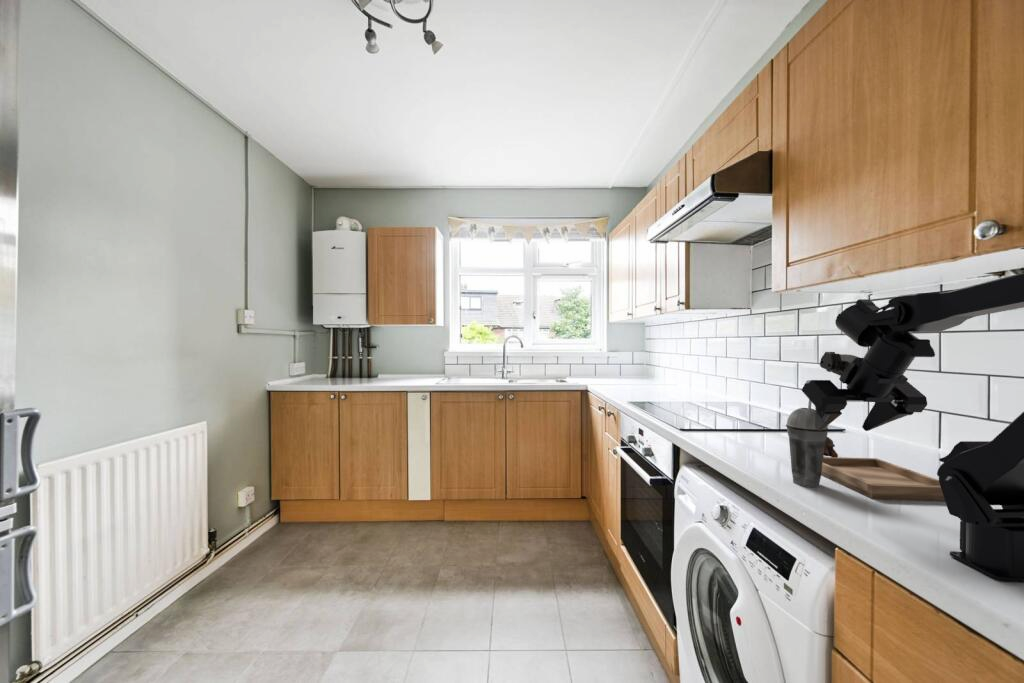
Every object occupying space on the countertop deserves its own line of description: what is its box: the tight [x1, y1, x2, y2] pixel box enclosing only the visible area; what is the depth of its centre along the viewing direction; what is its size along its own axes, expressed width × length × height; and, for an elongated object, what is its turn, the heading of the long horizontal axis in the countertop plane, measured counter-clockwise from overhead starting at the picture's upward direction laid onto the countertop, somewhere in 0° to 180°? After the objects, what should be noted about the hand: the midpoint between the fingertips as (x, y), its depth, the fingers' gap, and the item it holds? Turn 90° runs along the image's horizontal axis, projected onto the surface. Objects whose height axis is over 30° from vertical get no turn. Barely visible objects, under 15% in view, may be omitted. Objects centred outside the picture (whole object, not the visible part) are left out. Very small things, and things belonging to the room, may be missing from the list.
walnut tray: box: [821, 456, 945, 502], centre depth 90 cm, size 20×16×2 cm
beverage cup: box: [785, 399, 830, 488], centre depth 89 cm, size 7×7×20 cm
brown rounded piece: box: [823, 436, 839, 457], centre depth 109 cm, size 12×10×8 cm
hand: (841, 429), depth 81 cm, fingers open, 9 cm apart
